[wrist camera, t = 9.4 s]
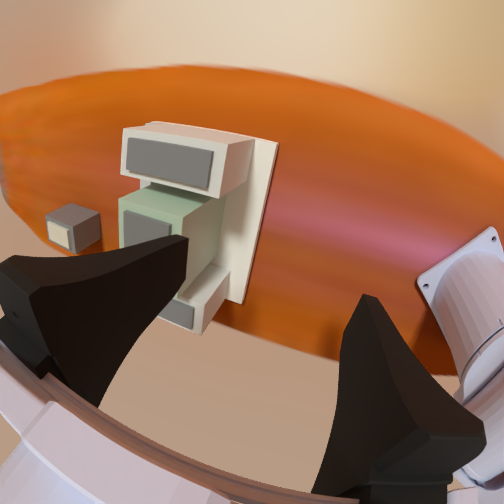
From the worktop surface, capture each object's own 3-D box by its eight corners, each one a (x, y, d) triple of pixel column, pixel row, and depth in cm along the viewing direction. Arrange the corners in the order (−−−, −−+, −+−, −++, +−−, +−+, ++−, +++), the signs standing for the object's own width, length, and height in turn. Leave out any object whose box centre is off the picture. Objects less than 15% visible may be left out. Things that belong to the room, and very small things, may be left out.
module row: (279, 142, 18) (254, 150, 13) (244, 299, 25) (218, 345, 20) (156, 121, 20) (103, 127, 15) (148, 263, 27) (109, 297, 21)
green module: (227, 188, 20) (179, 219, 14) (217, 254, 23) (174, 302, 17) (174, 175, 21) (115, 200, 15) (168, 238, 23) (118, 277, 18)
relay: (100, 212, 26) (70, 227, 22) (101, 238, 27) (74, 255, 24) (71, 202, 27) (43, 215, 23) (73, 226, 28) (46, 241, 24)
